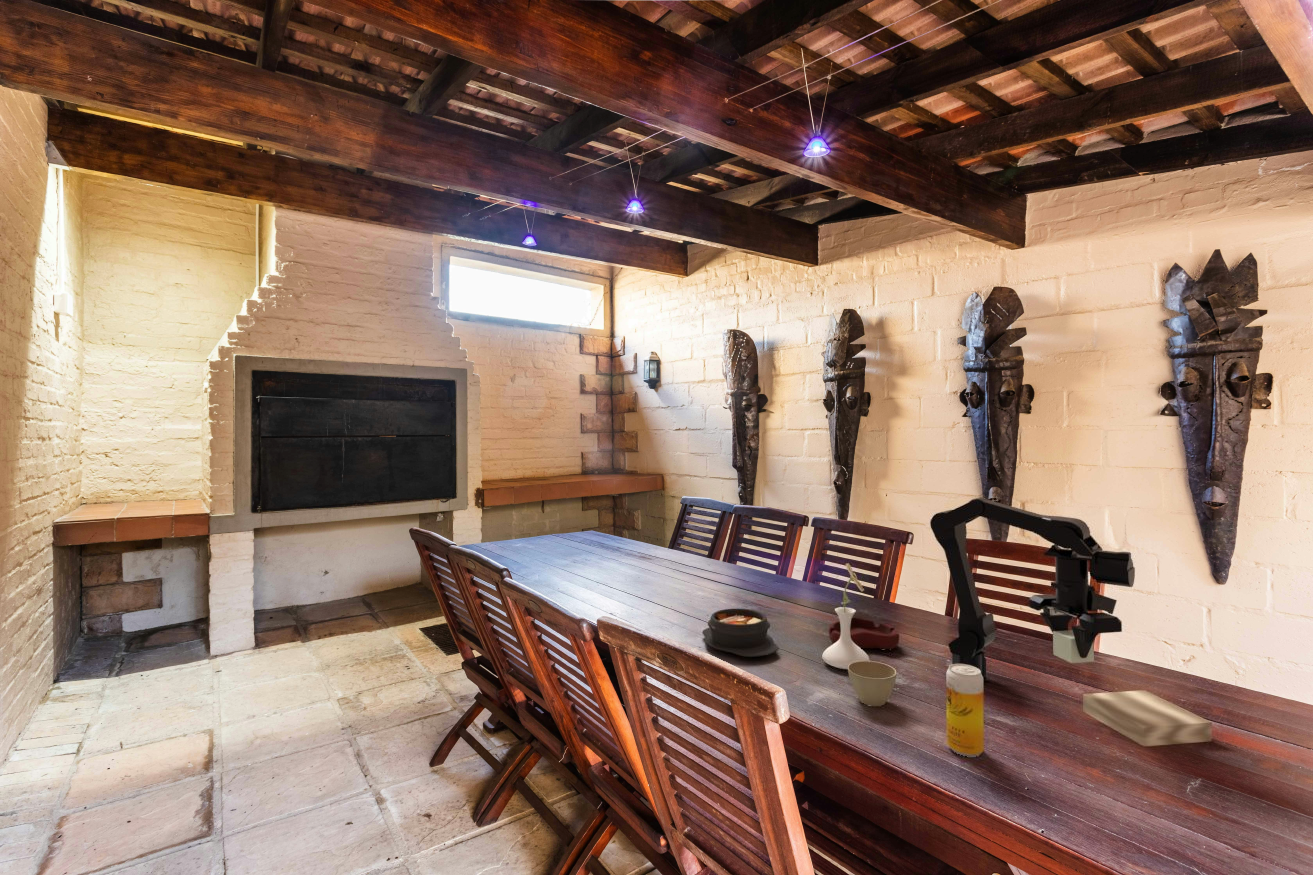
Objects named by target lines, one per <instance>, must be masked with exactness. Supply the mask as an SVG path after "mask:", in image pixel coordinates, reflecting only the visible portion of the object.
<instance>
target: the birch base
mask: <svg viewBox="0 0 1313 875" xmlns="http://www.w3.org/2000/svg"><path fill="white" fill-rule="evenodd" d="M1083 712H1084V713H1085V714H1087V715H1088V716H1091V717H1092V718H1094V719H1095V720H1097V721H1099V722H1101V723H1103V725H1106V726H1107V727H1109V728H1111V729H1113V730H1115V731H1117V732H1118V733H1120V734H1122V735H1123V736H1125V737H1127V738H1128V739H1130V740H1132V741H1133V742H1135V743H1137V744H1138V745H1140V746H1142V747H1154V746H1168V745H1179V744H1192V743H1204V742H1205V743H1206V742H1212V738H1213V736H1212V735H1213V734H1212V728H1213V724H1212V721H1210V720H1207V719H1206V718H1204V717H1201V716H1199V715H1197V714H1195V713H1193V712H1191V711H1189V710H1187V709H1184V708H1182V707H1180V706H1179V705H1177V704H1175V703H1172V702H1170V701H1168V700H1166V699H1164V698H1161V697H1159V696H1157V695H1156V694H1153V693H1151V692H1149V691H1147V690H1145V689H1143V690H1142V689H1140V690H1128V691H1127V690H1126V691H1113V692H1099V693H1098V692H1097V693H1095V692H1094V693H1084V694H1083V695H1082V713H1083Z"/></svg>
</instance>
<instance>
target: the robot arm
mask: <svg viewBox="0 0 1313 875" xmlns="http://www.w3.org/2000/svg"><path fill="white" fill-rule="evenodd" d="M980 517H981V518H985V519H988V520H991V521H995V522H998V523H1001V524H1004V525H1008V526H1012V527H1015V528H1018V529H1021V530H1025V531H1028V532H1030V533H1031V532H1032V533H1034V534H1035V535H1038V536H1039V537H1041V538H1042V539H1043V540H1046V542H1049V543H1051V544H1052V545H1050V548H1048V550H1046V551H1044V552H1043V556H1045V557H1053V558H1054V562H1055V563H1054V565H1055V566H1054V568H1055V581H1050V587H1051V588H1053V589H1055V594H1052V593H1048V594H1032V595H1031V597H1030V598H1029V600H1028V601H1029V606H1028V607H1029V608H1030V609H1033V610H1035V611H1038V612H1039V611H1041V612H1039V615H1040V616H1041V617H1042V618H1043V619H1044V621H1045V622H1046V624H1047V626H1048V628H1049V629H1050V631H1051V633H1052V634H1053V631H1065V630H1069V623H1070V621H1071V620H1072V619H1073V618H1074V619H1077V620H1079V624H1078V625H1071V630H1073V634H1074V638H1075V641H1076V645H1077V649H1078V652H1079V655H1080V657H1081V658H1086V657H1087V655H1088V653H1089V651H1090V648H1091V646H1092V644H1093V641H1095V639H1096V637H1097V636H1098V635H1099V634H1110V633H1112V634H1113V633H1122V632H1123V625H1122V623H1123V622H1122V620H1121V619H1120V618H1119V617H1118V616H1115V615H1113V614H1114V611H1115V609H1116V608H1115V607H1116V605H1117V602H1118V601H1117V599H1114V598H1111V597H1108V596H1104V595H1103V594H1098V593H1096V588H1095V587H1094V585H1092V584H1089V576H1090V578H1092V580H1095V581H1096V584H1097V583H1098V584H1105V585H1110V586H1111V585H1112V586H1120V587H1126V588H1133V587H1134V583H1135V578H1136V577H1135V574H1136V573H1135V572H1136V567H1135V566H1134V561H1133V558H1132V553H1131V552H1130V551H1111V550H1104V549H1103V548H1102V547H1101V545H1100V544H1099V543H1098V541H1097V540H1096V539H1095V538H1094V537H1093V536H1092V535H1091V530H1090V527H1089V526H1088V524H1087V523H1086V522H1085V521H1083V520H1082V519H1080V518H1075V517H1067V516H1061V515H1060V516H1059V515H1046V514H1045V515H1044V514H1039V513H1036V512H1033V511H1030V510H1025V509H1022V508H1020V507H1019V508H1018V507H1015V506H1011V505H1007V504H1004V503H1001V502H997V501H995V500H994V501H993V500H990V499H988V498H987V497H978V498H973V499H971V500H969V501H968V502H966V503H964V504H962V505H960V506H958V507H956V508H954V509H948V510H944V511H941V512H936V513H935V514H934V515H933V516H932V517H931V519H930V522H929V524H930V529H931V531H932V533H933V535H934V537H935V540H936V542H937V543H938V544H939V545H940V546H941V547H942V549H943V551H944V555H945V559H946V562H947V565H948V569H949V575H950V576H951V577H950V578H951V582H952V585H953V589H954V593H955V596H956V597H955V598H956V601H957V605H958V608H959V609H958V610H959V614H958V621H957V628H958V629H957V631H958V637H956V638H955V639H953V640H952V641H950V642H949V643H948V649H949V651H950V653H951V663H952V664H966V665H971V666H974V667H976V668H978V669H979V670H980V671H981V674H982V676H983V683H984V682H990V678H989V677H987V658H986V657H985V654H986V652H984V650H986V649H987V646H988V645H989V644H991V643H993V641H994V640H995V639H996V632H998V628H997V626H996V625H995V620H994V614H993V613H992V612H991V613H986V611H985V610H984V609H983V608H982V606H981V602H980V599H979V595H978V591H977V587H976V583H975V580H974V575H973V573H972V569H971V565H970V560H969V557H968V553H967V549H966V542H967V524H969V523H970V522H972V521H975V520H976V519H977V518H980ZM1098 610H1099V611H1102V612H1098ZM952 664H951V665H952Z"/></svg>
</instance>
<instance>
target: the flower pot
mask: <svg viewBox="0 0 1313 875" xmlns="http://www.w3.org/2000/svg"><path fill="white" fill-rule="evenodd" d="M847 672H848V677H849V680H850V684H851V686H852V688H853V691H854V693H855V695H856V696H857V698H858V700H859V701H860V702H861V703H862V704H863V703H864V704H863V705H865V704H867V705H866V706H868V705H871V706H870V707H872V706H879V707H882V706H881V705H883V706H884V705H885V704H886V703H887V701H888V700H889V698H890V696H891V695H892V693H893V691H894V687H895V684H896V679H897V670H896V668H894V667H893V666H891V665H889V664H886V663H883V662H880V661H875V660H874V661H873V660H870V661H857V662H853V663H851V664H849V665H848V669H847Z"/></svg>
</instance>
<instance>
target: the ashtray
mask: <svg viewBox="0 0 1313 875" xmlns="http://www.w3.org/2000/svg"><path fill="white" fill-rule="evenodd" d="M828 636H829V639H830V642H831V643H832V645H833V644H834V643H836V642H837V641H838V640H839V639H840V636H841V625H840V620H839V621H838V620H837V621H836V622H833V623H830V624H829V627H828ZM850 636H851V640H852V641H853V642H854V643H855V644H856V645H857V646H858V647H860V648H870V649H880V648H881V649H885V650H890V649H892V650H893V649H895V648H896V647H897V646H899V643H900V634H899V632H898V631H897V630H896V629H895V628H894V627H893V626H892V625H890V624H886V623H882V622H880V623H879V625H876V624H875V621H873V620H870V619H867V618H862V617H858V616H857V617H856V616H852V619H851V624H850ZM881 649H880V650H881Z"/></svg>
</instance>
